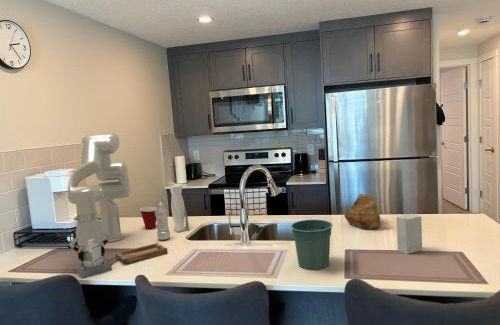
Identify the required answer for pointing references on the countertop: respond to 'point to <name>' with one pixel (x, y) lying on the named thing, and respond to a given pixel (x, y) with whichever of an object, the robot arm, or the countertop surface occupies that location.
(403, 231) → the skincare box
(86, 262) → the syrup box
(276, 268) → the countertop surface
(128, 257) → the wooden tray
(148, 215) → the plastic cup
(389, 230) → the countertop surface
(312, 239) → the flower pot
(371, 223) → the rough brown rock
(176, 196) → the skyscraper
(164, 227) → the plastic bottle
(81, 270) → the socket
